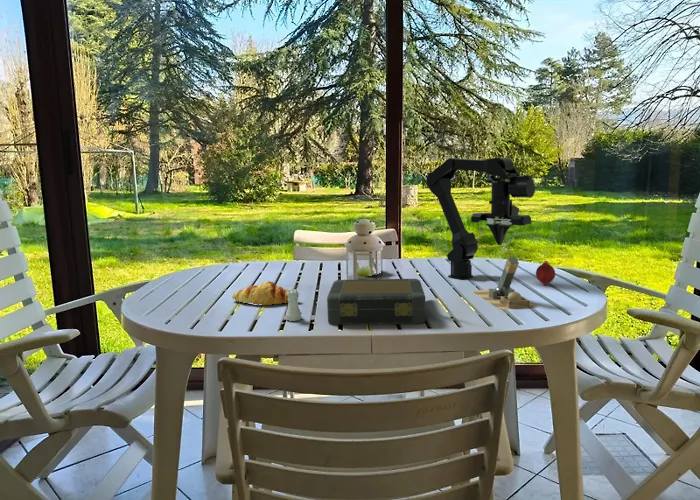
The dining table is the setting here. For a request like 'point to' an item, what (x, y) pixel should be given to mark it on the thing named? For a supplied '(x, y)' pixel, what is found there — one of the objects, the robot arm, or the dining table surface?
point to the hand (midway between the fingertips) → (499, 245)
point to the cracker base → (503, 300)
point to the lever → (507, 277)
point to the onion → (545, 273)
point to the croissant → (262, 294)
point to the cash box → (376, 302)
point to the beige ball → (514, 296)
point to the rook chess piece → (293, 306)
